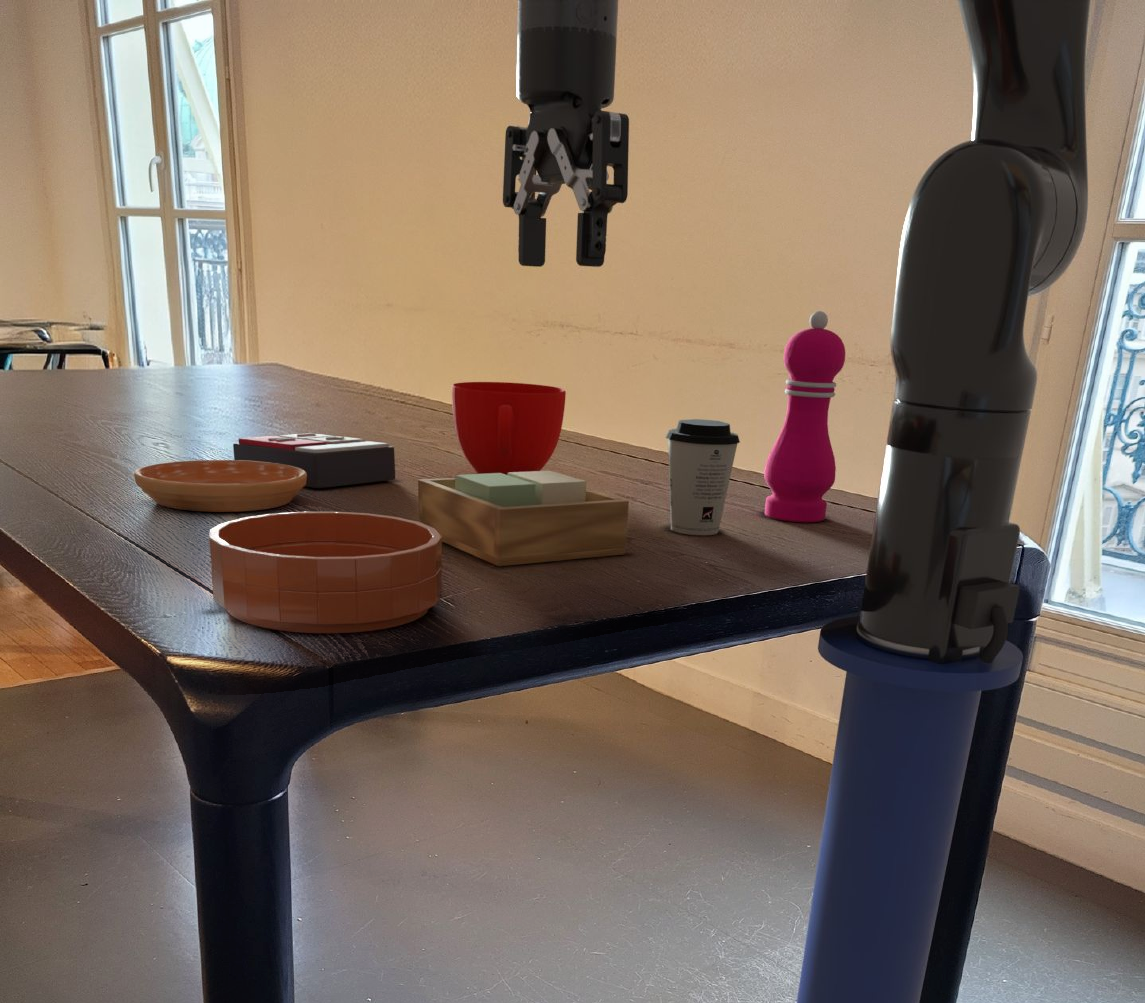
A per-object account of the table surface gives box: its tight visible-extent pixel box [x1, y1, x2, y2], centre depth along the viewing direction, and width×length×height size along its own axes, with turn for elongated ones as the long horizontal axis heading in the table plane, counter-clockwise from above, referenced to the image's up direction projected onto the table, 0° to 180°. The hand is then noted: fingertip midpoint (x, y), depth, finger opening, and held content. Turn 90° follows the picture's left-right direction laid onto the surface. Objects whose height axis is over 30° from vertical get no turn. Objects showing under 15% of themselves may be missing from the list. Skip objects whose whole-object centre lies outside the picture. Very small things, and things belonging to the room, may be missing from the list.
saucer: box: [133, 459, 307, 513], centre depth 111 cm, size 16×16×3 cm
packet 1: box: [454, 473, 535, 507], centre depth 99 cm, size 6×4×5 cm
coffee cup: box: [665, 418, 741, 536], centre depth 108 cm, size 7×7×10 cm
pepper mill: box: [763, 310, 846, 523], centre depth 116 cm, size 7×7×20 cm
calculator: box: [232, 432, 396, 489], centre depth 127 cm, size 11×4×15 cm
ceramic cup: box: [451, 381, 567, 475], centre depth 130 cm, size 13×17×10 cm
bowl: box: [208, 511, 443, 635], centre depth 78 cm, size 15×15×5 cm
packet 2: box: [508, 470, 587, 505], centre depth 101 cm, size 6×4×5 cm
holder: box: [417, 477, 629, 567], centre depth 100 cm, size 15×13×5 cm
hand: (559, 266), depth 93 cm, fingers open, 8 cm apart
